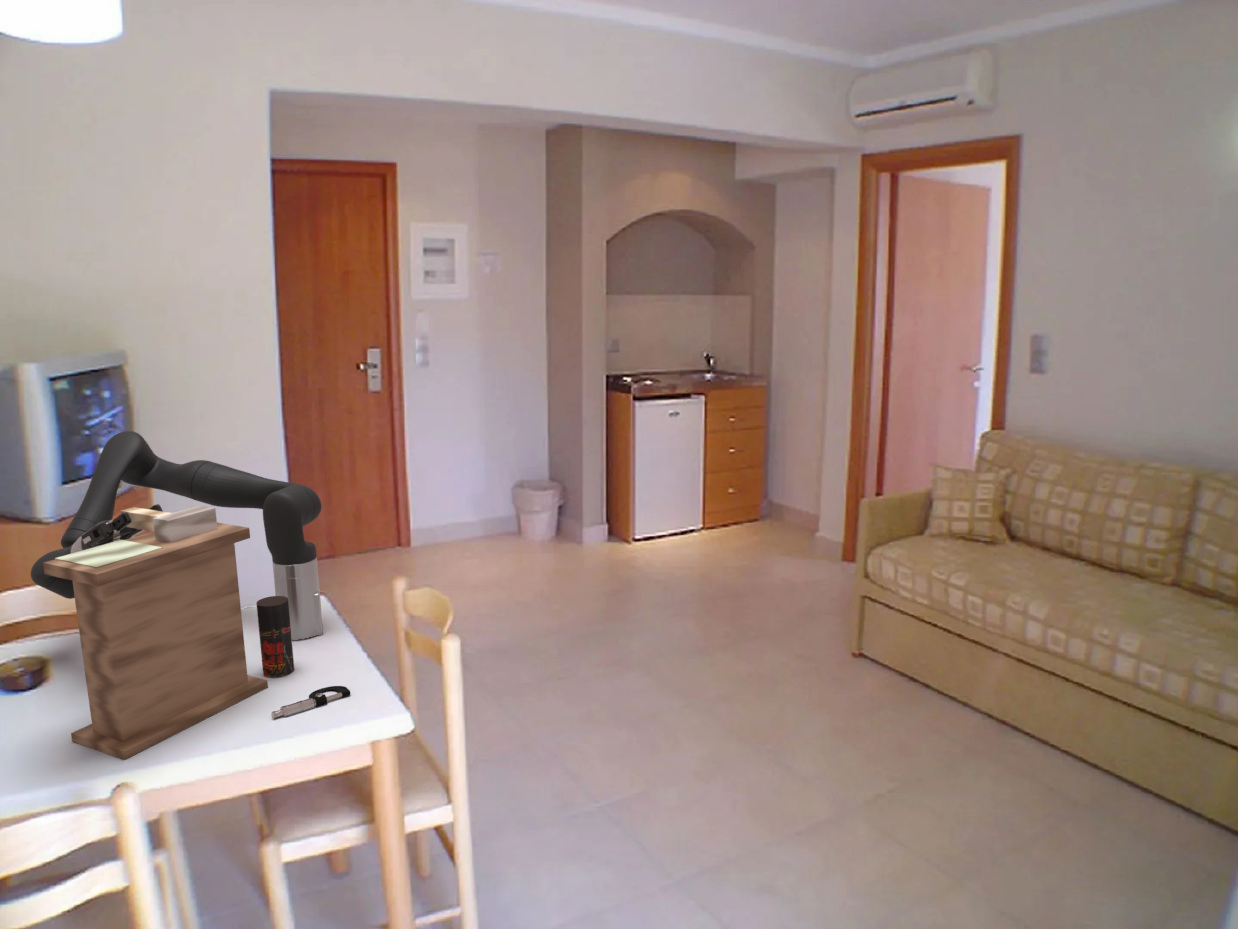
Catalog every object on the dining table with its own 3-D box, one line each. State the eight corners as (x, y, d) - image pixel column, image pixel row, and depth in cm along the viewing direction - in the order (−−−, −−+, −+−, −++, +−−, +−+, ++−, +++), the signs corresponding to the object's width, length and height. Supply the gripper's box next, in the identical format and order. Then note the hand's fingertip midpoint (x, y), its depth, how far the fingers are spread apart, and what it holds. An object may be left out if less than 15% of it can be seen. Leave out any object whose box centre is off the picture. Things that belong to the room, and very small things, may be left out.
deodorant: (257, 672, 184) (250, 601, 181) (285, 662, 188) (279, 593, 185) (271, 680, 180) (265, 608, 177) (299, 671, 184) (293, 600, 181)
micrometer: (339, 685, 178) (338, 673, 178) (354, 698, 173) (353, 686, 173) (261, 709, 169) (260, 696, 169) (275, 723, 164) (274, 710, 163)
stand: (68, 740, 158) (42, 561, 151) (214, 673, 184) (197, 518, 177) (125, 760, 151) (100, 574, 144) (267, 687, 177) (252, 527, 170)
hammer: (104, 530, 170) (102, 509, 169) (152, 517, 178) (150, 498, 178) (170, 542, 162) (168, 520, 161) (217, 528, 171) (215, 507, 170)
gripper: (55, 538, 174) (99, 503, 165) (125, 520, 186) (169, 487, 178) (72, 573, 173) (117, 540, 165) (141, 553, 186) (185, 521, 178)
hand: (143, 513), depth 172 cm, fingers open, 6 cm apart
